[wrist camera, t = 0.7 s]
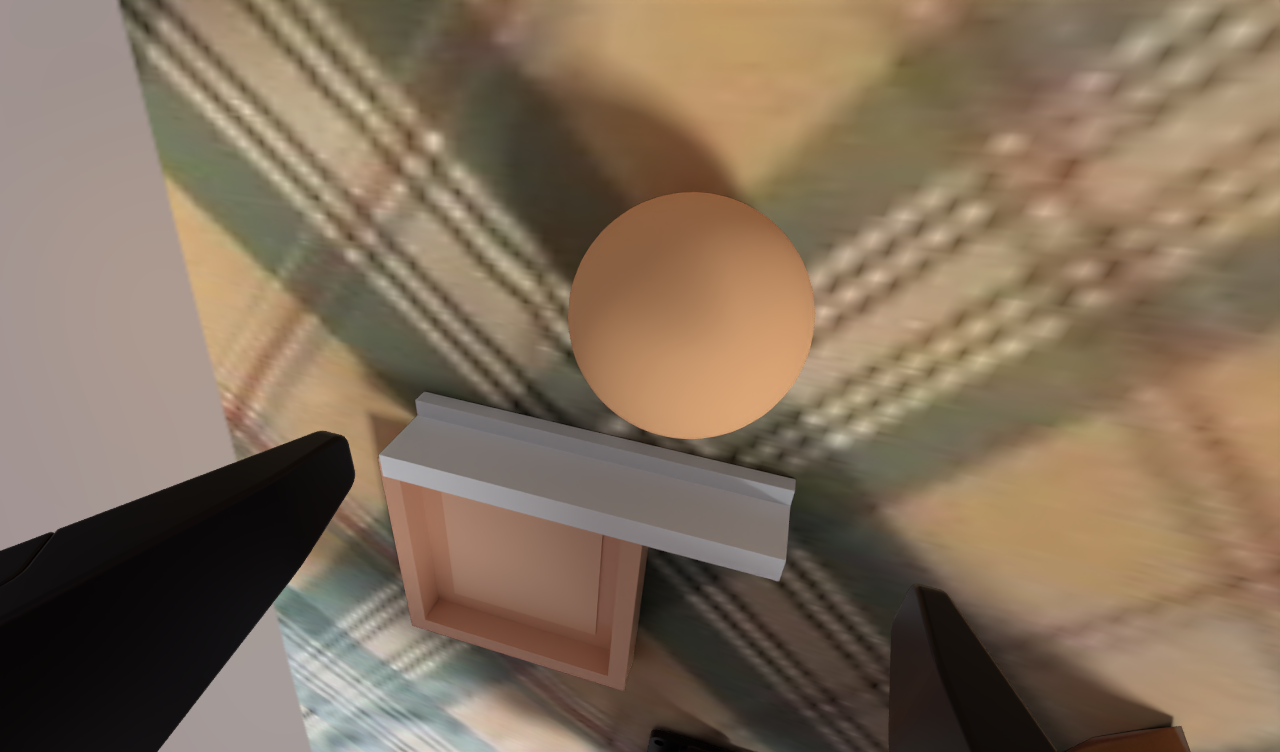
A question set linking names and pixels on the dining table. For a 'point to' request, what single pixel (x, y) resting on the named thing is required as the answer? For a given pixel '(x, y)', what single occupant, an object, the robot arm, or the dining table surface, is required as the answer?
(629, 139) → the dining table surface
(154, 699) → the robot arm
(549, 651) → the dish
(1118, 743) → the pancake mix bag
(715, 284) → the ball
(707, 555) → the wall
